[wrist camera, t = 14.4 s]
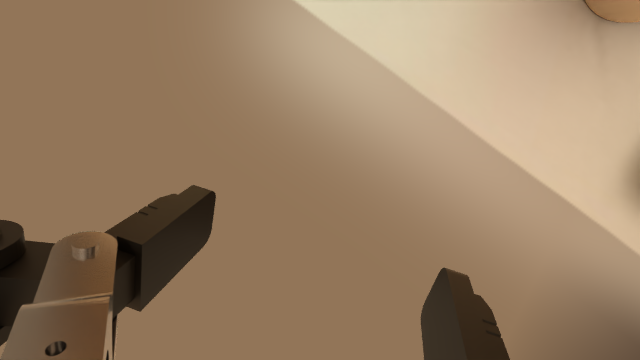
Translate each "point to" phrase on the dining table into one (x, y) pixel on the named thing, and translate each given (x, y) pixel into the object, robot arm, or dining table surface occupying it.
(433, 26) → the dining table surface
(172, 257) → the robot arm
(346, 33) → the dining table surface
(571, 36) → the dining table surface
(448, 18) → the dining table surface
